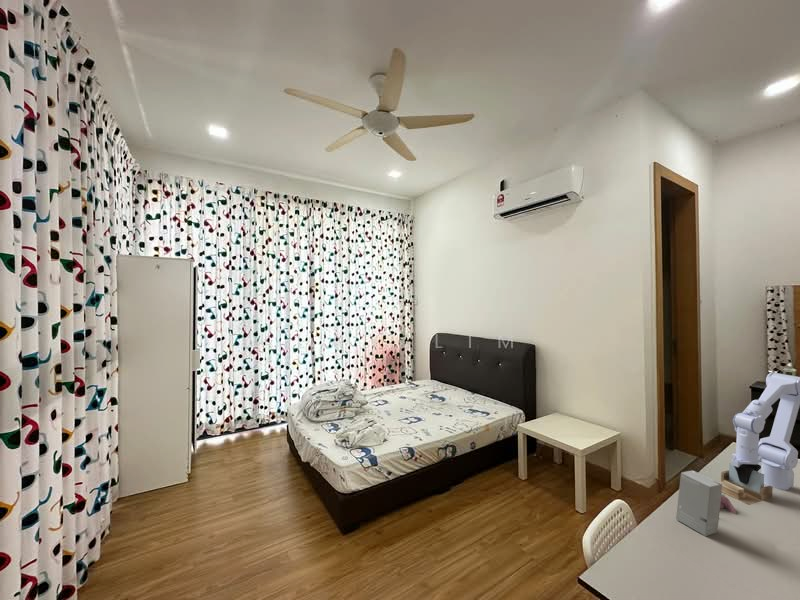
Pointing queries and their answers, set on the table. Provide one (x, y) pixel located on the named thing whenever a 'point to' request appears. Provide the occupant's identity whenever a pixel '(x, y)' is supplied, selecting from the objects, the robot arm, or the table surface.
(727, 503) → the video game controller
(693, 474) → the skincare box
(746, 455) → the robot arm
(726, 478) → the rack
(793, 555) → the table surface
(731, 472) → the tall sheet
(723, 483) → the offcut stack
